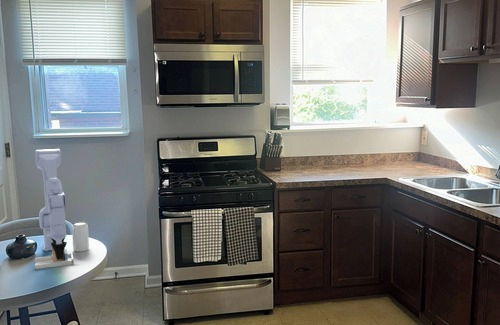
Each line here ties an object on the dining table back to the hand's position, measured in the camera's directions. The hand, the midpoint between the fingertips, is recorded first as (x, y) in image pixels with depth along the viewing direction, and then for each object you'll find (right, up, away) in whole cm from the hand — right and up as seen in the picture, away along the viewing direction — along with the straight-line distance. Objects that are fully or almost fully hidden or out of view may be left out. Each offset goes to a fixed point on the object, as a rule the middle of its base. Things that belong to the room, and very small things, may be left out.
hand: (59, 255), depth 177 cm
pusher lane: (-2, -3, 0) cm, 3 cm away
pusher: (+2, -2, +1) cm, 4 cm away
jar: (0, -2, 0) cm, 2 cm away
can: (+3, -1, +15) cm, 15 cm away
